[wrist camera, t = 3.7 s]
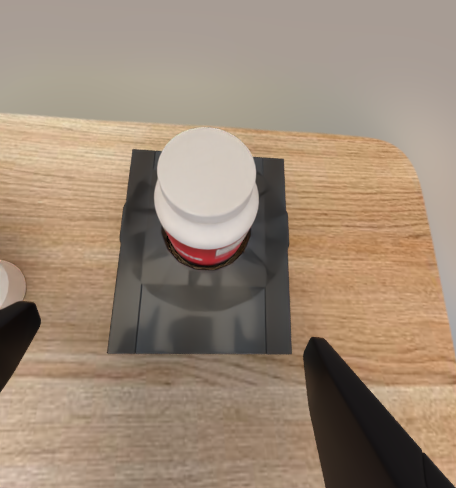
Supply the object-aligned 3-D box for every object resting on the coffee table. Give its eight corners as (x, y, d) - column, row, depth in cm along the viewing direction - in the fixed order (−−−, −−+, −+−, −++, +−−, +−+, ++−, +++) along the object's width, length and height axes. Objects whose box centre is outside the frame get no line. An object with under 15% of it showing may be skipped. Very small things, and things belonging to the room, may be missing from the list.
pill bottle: (158, 223, 22) (114, 147, 12) (216, 190, 24) (225, 94, 13) (196, 282, 21) (185, 258, 11) (254, 245, 23) (297, 189, 12)
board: (277, 171, 25) (285, 157, 22) (283, 349, 21) (294, 354, 18) (138, 163, 24) (130, 147, 21) (116, 348, 20) (104, 353, 17)
